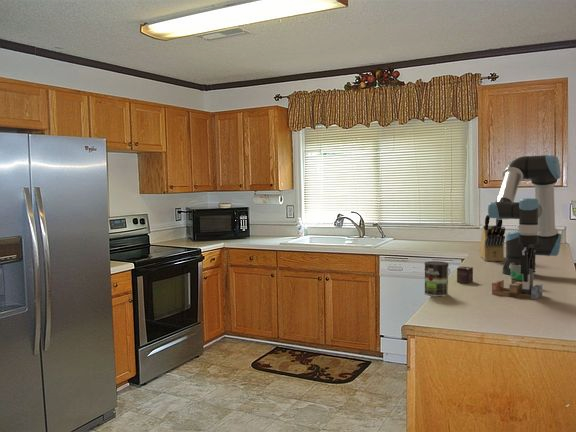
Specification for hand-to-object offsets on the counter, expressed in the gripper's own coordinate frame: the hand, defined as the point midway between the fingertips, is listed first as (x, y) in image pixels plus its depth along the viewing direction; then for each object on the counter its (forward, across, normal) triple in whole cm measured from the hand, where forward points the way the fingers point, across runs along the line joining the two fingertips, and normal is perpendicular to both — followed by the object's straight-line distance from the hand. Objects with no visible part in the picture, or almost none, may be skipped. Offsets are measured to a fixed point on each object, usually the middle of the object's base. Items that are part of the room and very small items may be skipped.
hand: (527, 288), depth 225 cm
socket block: (+4, 0, -5) cm, 6 cm away
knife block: (+3, -98, -52) cm, 111 cm away
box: (+4, -15, -35) cm, 38 cm away
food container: (+4, -22, -12) cm, 25 cm away
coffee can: (+4, +20, -33) cm, 38 cm away
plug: (+4, 0, 0) cm, 4 cm away
